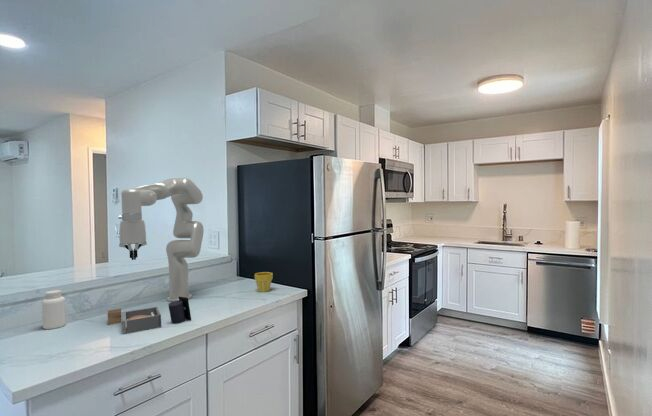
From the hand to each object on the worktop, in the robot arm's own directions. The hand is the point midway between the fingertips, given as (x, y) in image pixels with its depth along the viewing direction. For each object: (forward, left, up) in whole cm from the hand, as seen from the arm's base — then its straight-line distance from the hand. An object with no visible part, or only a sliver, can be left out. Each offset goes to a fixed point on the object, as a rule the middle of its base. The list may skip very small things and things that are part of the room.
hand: (133, 259), depth 156 cm
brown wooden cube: (-3, -8, -27) cm, 28 cm away
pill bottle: (-12, -30, -27) cm, 42 cm away
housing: (+9, +2, -27) cm, 29 cm away
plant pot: (-17, +66, -27) cm, 73 cm away
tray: (+9, +2, -27) cm, 29 cm away
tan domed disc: (+9, +1, -26) cm, 27 cm away
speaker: (+13, +16, -27) cm, 34 cm away
